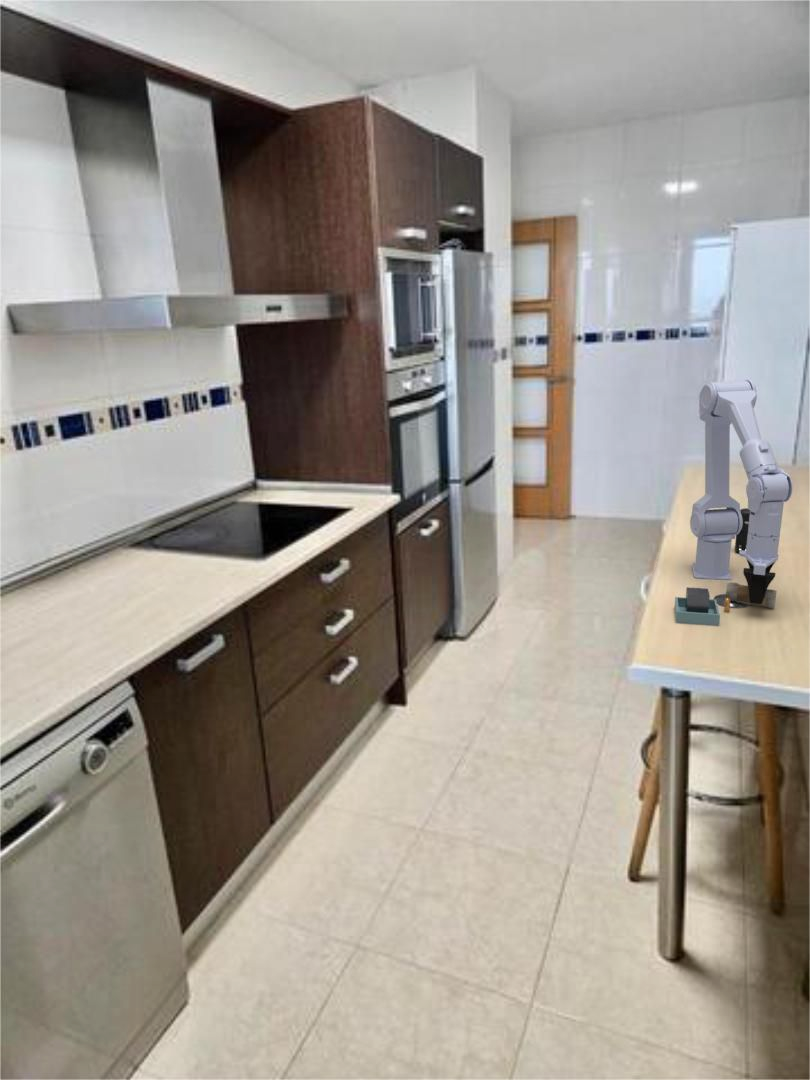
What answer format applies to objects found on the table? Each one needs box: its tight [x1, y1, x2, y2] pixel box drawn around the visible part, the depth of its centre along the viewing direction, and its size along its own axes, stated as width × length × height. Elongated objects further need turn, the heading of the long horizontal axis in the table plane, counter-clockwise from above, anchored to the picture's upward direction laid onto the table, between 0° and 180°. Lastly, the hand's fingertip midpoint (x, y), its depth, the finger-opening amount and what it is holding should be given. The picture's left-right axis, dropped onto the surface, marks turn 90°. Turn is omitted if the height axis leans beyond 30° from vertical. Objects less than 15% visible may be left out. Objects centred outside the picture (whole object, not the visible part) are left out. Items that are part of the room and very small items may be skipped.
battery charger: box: [734, 507, 750, 554], centre depth 172 cm, size 7×4×11 cm, turn 67°
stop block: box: [685, 587, 711, 613], centre depth 140 cm, size 4×4×5 cm
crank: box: [725, 582, 777, 608], centre depth 143 cm, size 9×2×3 cm, turn 53°
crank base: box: [713, 593, 751, 614], centre depth 145 cm, size 10×7×3 cm
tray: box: [674, 596, 721, 627], centre depth 140 cm, size 8×8×2 cm
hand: (756, 596), depth 143 cm, fingers open, 7 cm apart
